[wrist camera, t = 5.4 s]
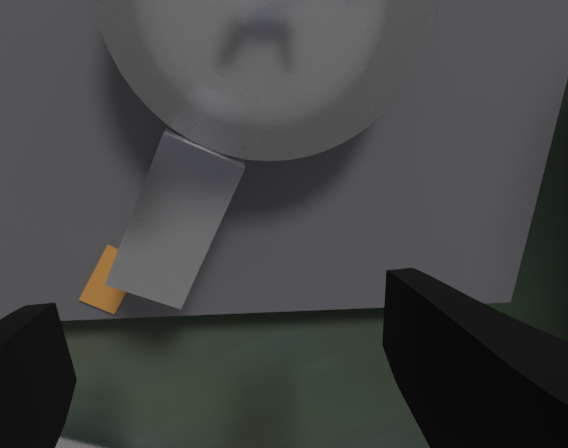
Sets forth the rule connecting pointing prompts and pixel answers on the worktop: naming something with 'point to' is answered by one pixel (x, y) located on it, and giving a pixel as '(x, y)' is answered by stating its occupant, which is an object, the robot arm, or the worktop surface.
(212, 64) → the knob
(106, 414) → the worktop surface
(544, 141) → the base plate
